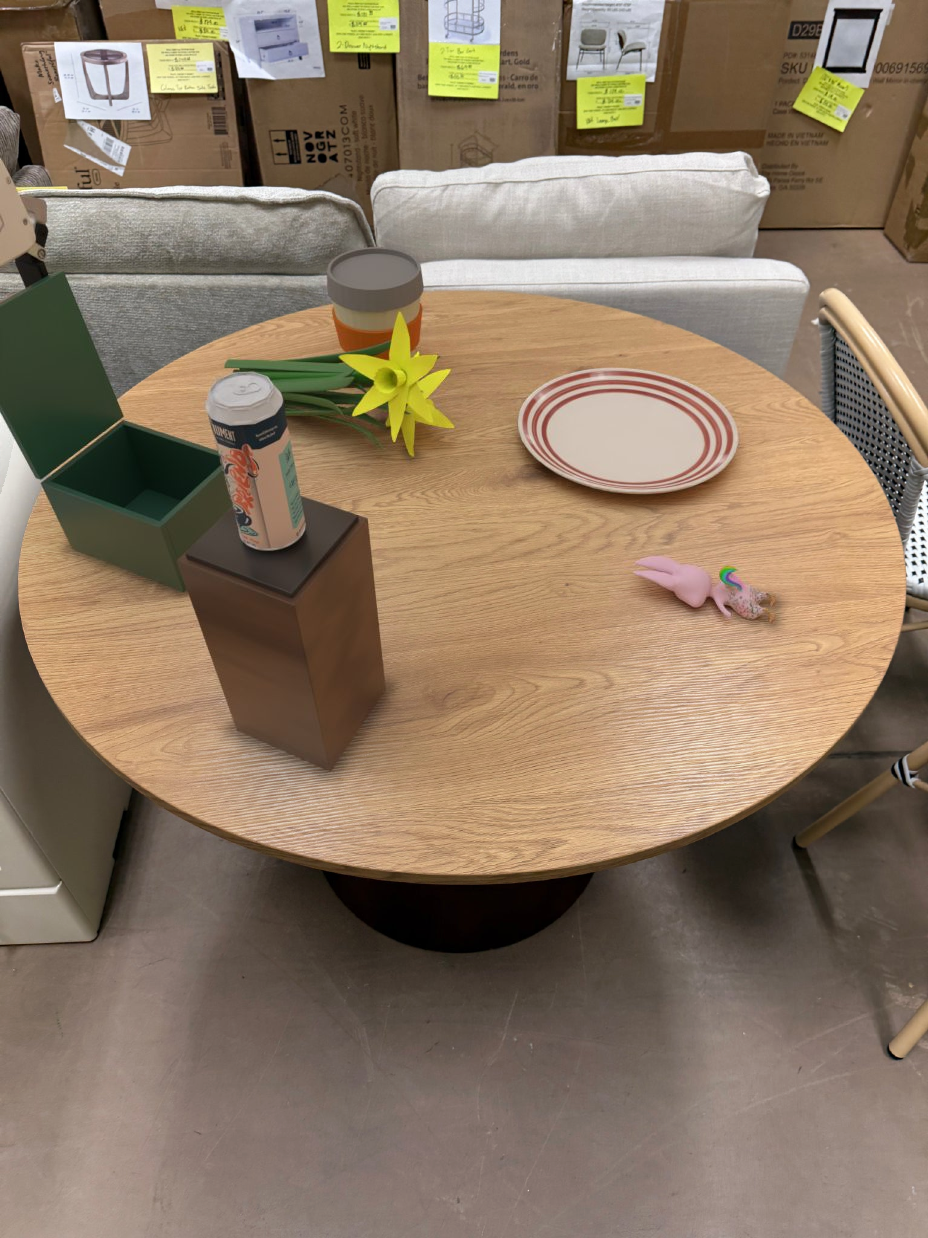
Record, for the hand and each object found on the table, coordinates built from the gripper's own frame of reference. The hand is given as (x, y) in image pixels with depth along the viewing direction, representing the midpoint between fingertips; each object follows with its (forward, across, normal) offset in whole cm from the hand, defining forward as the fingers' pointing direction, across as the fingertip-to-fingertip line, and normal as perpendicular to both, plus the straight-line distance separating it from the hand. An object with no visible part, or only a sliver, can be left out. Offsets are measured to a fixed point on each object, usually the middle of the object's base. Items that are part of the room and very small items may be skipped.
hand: (6, 322), depth 78 cm
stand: (+23, -13, -40) cm, 48 cm away
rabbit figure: (+23, +17, -68) cm, 74 cm away
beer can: (+1, -13, -39) cm, 42 cm away
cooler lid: (+5, 0, -4) cm, 6 cm away
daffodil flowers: (+24, +25, -18) cm, 39 cm away
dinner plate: (+24, +40, -52) cm, 70 cm away
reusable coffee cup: (+24, +41, -16) cm, 50 cm away
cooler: (+23, 0, -12) cm, 26 cm away
